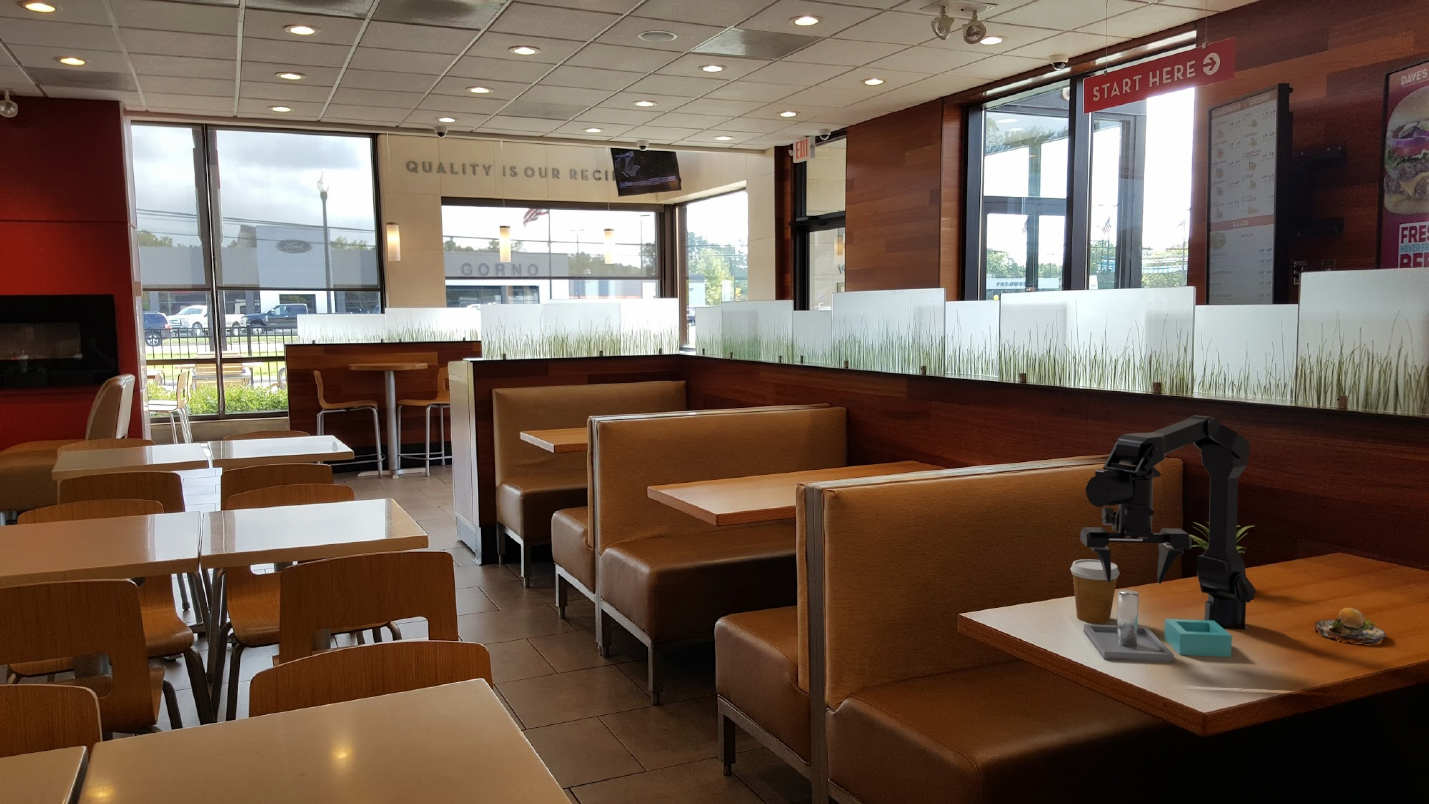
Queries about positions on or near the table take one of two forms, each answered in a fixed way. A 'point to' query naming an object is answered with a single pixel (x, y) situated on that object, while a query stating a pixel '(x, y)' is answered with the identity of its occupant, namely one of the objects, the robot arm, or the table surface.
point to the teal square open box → (1197, 637)
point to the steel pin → (1127, 618)
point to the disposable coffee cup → (1093, 590)
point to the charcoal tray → (1145, 650)
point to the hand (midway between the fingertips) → (1133, 582)
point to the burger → (1350, 628)
